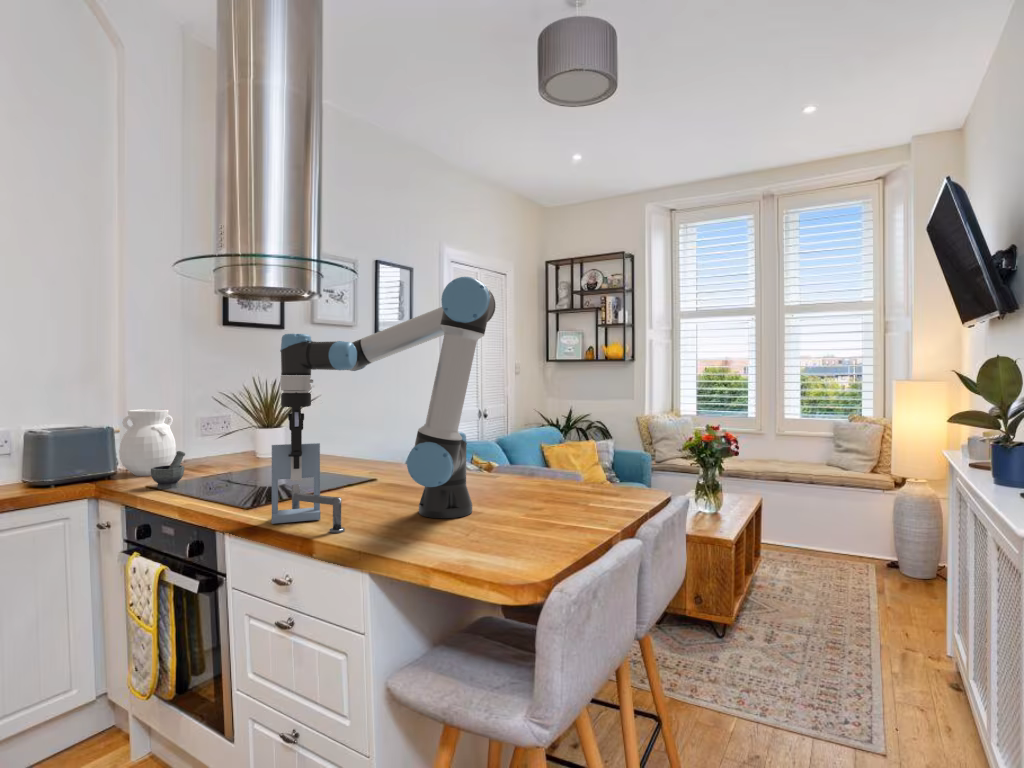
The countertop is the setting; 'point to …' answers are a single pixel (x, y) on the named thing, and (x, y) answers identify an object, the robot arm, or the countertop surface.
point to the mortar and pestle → (169, 473)
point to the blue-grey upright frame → (283, 471)
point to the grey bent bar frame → (322, 500)
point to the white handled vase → (147, 441)
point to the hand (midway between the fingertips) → (296, 479)
